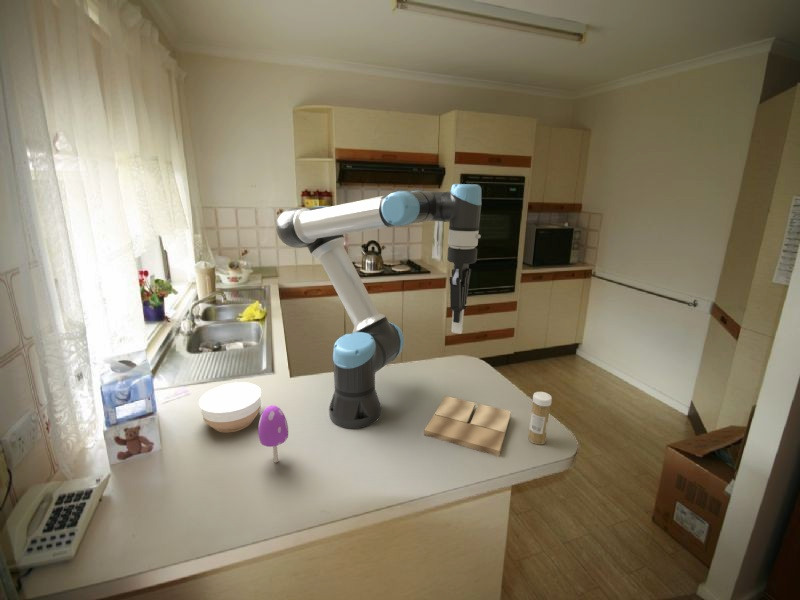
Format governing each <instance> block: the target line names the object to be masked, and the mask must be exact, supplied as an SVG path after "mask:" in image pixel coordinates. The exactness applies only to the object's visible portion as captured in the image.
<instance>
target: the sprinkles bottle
mask: <svg viewBox="0 0 800 600" xmlns="http://www.w3.org/2000/svg"><path fill="white" fill-rule="evenodd" d="M552 399H553V397H552V395H550V394H549V393H548V392H545V391H536V392H535V391H534V393H533V396H532V407H531V408H532V409H531V414H530V421H529V430H528V431H529V432H528V436H527V438H528V440H529V442H531V443H532V444H535V445H538V446H540V445H544V444H546V441H547V439H546V438H547V432H548V426H549V416H550V411H551V410H550V409H551V405H552Z"/></svg>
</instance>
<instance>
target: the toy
mask: <svg viewBox="0 0 800 600" xmlns="http://www.w3.org/2000/svg"><path fill="white" fill-rule="evenodd" d="M257 433H258V441H259V442H260V444H261V445H262V446H264V447H269V448H270V447H271V448H272V455H273V462H274V463H276V464H277V463H278V462H279V454H278V446H279V445H280V446H281V445H282V444H283V443H285V442H286V441H287V439H288V438H289V425H288V421H287V418H286V416H285V413H284V412H283V410H282V409H281V408H280V407H278V406H277V405H273V404H272V405H269V406H267V407H265V409H264V410H263V411H262V413H261V415H260V417H259V422H258V432H257Z"/></svg>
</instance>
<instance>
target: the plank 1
mask: <svg viewBox="0 0 800 600" xmlns="http://www.w3.org/2000/svg"><path fill="white" fill-rule="evenodd" d="M475 408H476V402H473V401H468V400H464V399H460V398H455V397H451V396H447V395H444V397H443V398H442V401H441V402H440V404H439V406H438V407H437V409H436V411H435V413H434V414H433V416H434V415H437V416H441V417H445V418H449V419H453V420H456V421H460V422H464V423H468V424H469V421H470V419H471V416H472V414H473V412H474V409H475Z"/></svg>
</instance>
